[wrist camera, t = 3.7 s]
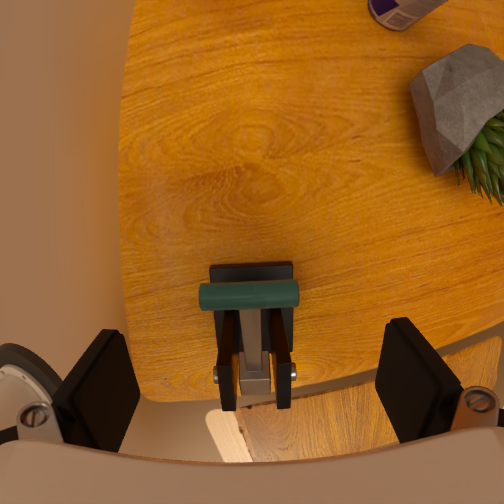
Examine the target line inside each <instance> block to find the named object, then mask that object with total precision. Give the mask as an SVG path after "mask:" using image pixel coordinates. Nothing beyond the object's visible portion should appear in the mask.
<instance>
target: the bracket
mask: <svg viewBox="0 0 504 504" xmlns="http://www.w3.org/2000/svg"><path fill="white" fill-rule="evenodd" d="M209 272H210V282H211V283H227V282H250V281H270V280H290V279H293V264H292V262H291V261H286V262H266V263H245V264H223V265H211V266H210V269H209ZM260 312H261V343H262V351H269V353H271V356H272V365H273V375H274V385H275V393H276V404H277V409H289V408H290V407H291V381H295V380H296V364H295V363H294V362H293V363H292V362H291V356H290V352H292V351H293V307H287V308H269V309H260ZM214 320H215V329H216V338H217V346H218V356H217V363H216V366H214V368H213V379H214V383H215V384H219V391H220V398H221V405H222V411H236V398H237V379H238V359H239V352H244V346H243V338H242V329H241V321H240V312H239V310H222V311H214Z"/></svg>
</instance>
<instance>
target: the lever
mask: <svg viewBox="0 0 504 504" xmlns="http://www.w3.org/2000/svg"><path fill="white" fill-rule="evenodd" d="M199 304H200V308H201V310H202V311H222V310H239V312H240V321H241V329H242V338H243V346H244V352H239V385H240V390H241V395H267V394H270V392H271V374H270V359H269V351H262V343H261V312H260V309H269V308H287V307H298V305H299V287H298V282H297V280H296V279H290V280H270V281H250V282H227V283H202V284H200V287H199Z"/></svg>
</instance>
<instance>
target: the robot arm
mask: <svg viewBox="0 0 504 504" xmlns="http://www.w3.org/2000/svg"><path fill="white" fill-rule="evenodd" d="M460 384H461V382H460V381H459V379H458V378H457V377H456V376H455V374H454V373H453V372H452V371H451V369H450V368H449V367H448V366H447V364H446V363H445V362H444V361H443V359H442V358H441V357H440V356H439V354H438V353H437V352H436V351H435V350H434V348H433V347H432V346H431V345H430V343H429V342H428V341H427V340H426V339H425V337H424V336H423V335H422V334H421V333H420V332H419V330H418V329H417V328H416V327H415V326H414V324H413V323H412V322H411V321H410V320H409V319H408V318H407V317H401V318H393V319H391V321H390V323H387V324H386V327H385V332H384V338H383V344H382V350H381V355H380V360H379V365H378V370H377V375H376V380H375V388H376V391H377V393H378V396H379V398H380V400H381V402H382V404H383V406H384V409H385V411H386V413H387V415H388V417H389V419H390V422H391V424H392V426H393V428H394V431H395V433H396V435H397V437H398V440H399V442H400V444H397V445H392V446H388V447H383V448H378V449H373V450H368V451H362V452H356V453H350V454H344V455H337V456H330V457H321V458H312V459H302V460H290V461H275V462H246V463H225V462H222V463H221V462H196V461H181V460H168V459H159V458H150V457H142V456H135V455H128V454H121V453H118V451H119V449H120V446H121V444H122V440H123V439H124V436H125V434H126V431H127V429H128V426H129V424H130V421H131V419H132V416H133V414H134V411H135V409H136V406H137V404H138V402H139V399H140V389H139V386H138V383H137V380H136V377H135V373H134V370H133V367H132V363H131V360H130V357H129V353H128V349H127V345H126V341H125V338H124V336H123V334H120V333H119V331H118V330H110V329H103V330H101V332H100V333H99V334H98V335H97V337H96V338H95V339H94V341H93V342H92V343H91V345H90V346H89V347H88V348H87V350H86V351H85V352H84V354H83V355H82V356H81V358H80V359H79V361H78V362H77V363H76V364H75V366H74V367H73V369H72V370H71V371H70V372H69V374H68V376H67V377H66V378H65V379H64V381H63V382H62V383H61V385H60V386H59V388H58V389H57V390H56V392H55V393H54V395H53V396H52V399H53V401H52V399H51V397H50V396H49V394H48V392H47V391H46V390H45V388H44V387H43V386H42V385H41V384H40V383H39V381H37V380H36V379H35V378H34V377H33V376H32V375H31V374H29V373H28V372H27V371H25V370H24V369H22V368H20V367H18V366H15V365H10V364H7V365H4V366H3V367H1V369H0V504H504V409H500V408H499V406H500V403H499V399H498V397H497V395H496V394H495V393H494V392H493V391H492V390H490V389H488V388H486V387H483V386H471V387H468V388H466V389H465V390H464V389H463V388H462V386H461V385H460Z"/></svg>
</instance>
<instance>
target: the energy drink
mask: <svg viewBox="0 0 504 504" xmlns="http://www.w3.org/2000/svg"><path fill="white" fill-rule="evenodd" d="M446 1H448V0H368V7H369V10H370V12H371V14H372V15H373V17H374V18H375V19H376V20H377V21H378V22H379V23H380V24H382V25H383V26H385V27H387V28H389V29H392V30H397V31H402V30H406V29H407V28H409V27H410V26H412V25H413V24H415V23H416V22H417V21H419V20H420V19H422V18H423V17H424V16H426V15H427V14H429V13H430V12H432V11H433V10H434V9H436V8H437V7H439V6H440V5H442V4H443V3H445V2H446Z"/></svg>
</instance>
